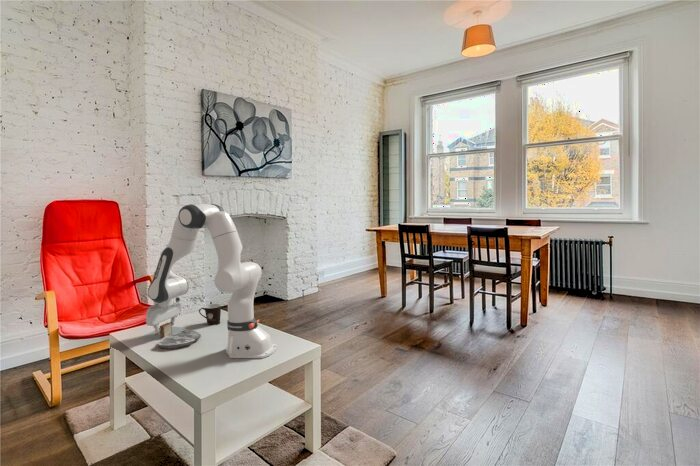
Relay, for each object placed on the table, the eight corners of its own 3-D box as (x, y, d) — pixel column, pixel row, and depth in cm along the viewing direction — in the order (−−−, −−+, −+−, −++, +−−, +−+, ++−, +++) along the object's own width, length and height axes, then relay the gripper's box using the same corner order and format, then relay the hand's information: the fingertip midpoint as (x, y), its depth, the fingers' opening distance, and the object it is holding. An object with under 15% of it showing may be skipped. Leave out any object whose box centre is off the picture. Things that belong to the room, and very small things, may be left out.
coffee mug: (225, 322, 204) (224, 305, 203) (212, 327, 197) (211, 309, 196) (211, 319, 210) (210, 302, 209) (198, 323, 203) (197, 306, 202)
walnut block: (172, 334, 186) (171, 322, 185) (164, 338, 181) (163, 326, 180) (168, 334, 187) (167, 322, 186) (160, 338, 181) (159, 326, 181)
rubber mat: (187, 328, 196) (187, 327, 196) (162, 341, 178) (162, 340, 178) (165, 326, 199) (165, 325, 199) (138, 338, 182) (138, 337, 182)
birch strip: (169, 329, 193) (169, 327, 193) (156, 335, 185) (156, 333, 184) (167, 329, 193) (167, 327, 193) (154, 335, 185) (154, 333, 185)
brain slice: (184, 353, 164) (184, 346, 164) (151, 350, 168) (150, 344, 168) (209, 337, 184) (209, 331, 183) (179, 335, 187) (178, 329, 187)
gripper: (152, 307, 171) (154, 336, 173) (183, 296, 191) (184, 322, 192) (141, 306, 173) (143, 335, 174) (172, 295, 193) (174, 321, 194)
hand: (165, 328), depth 183 cm, fingers open, 8 cm apart
